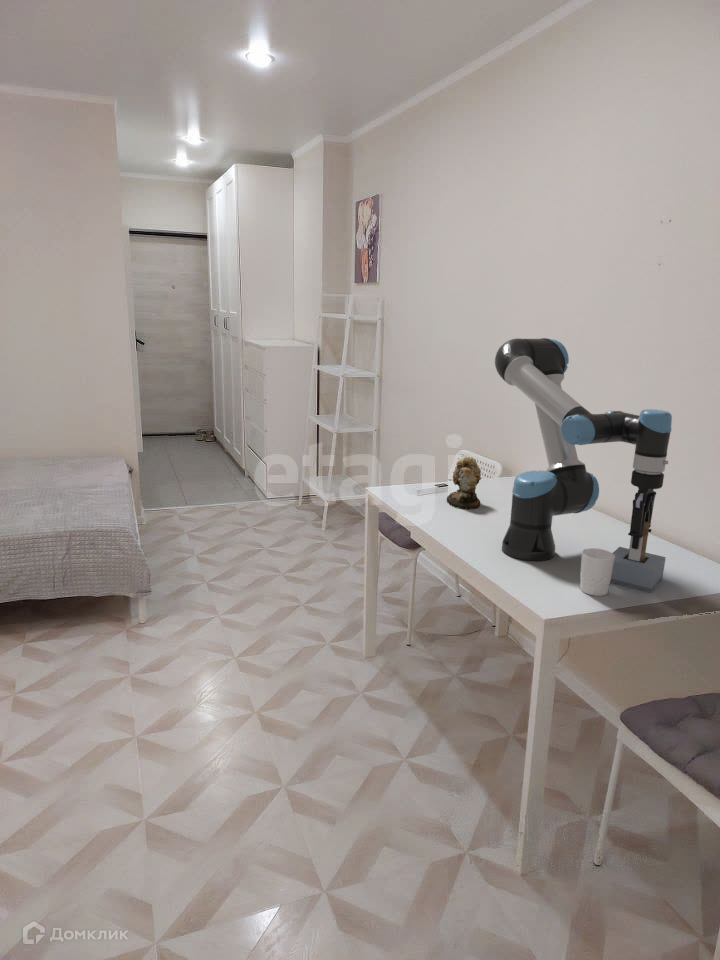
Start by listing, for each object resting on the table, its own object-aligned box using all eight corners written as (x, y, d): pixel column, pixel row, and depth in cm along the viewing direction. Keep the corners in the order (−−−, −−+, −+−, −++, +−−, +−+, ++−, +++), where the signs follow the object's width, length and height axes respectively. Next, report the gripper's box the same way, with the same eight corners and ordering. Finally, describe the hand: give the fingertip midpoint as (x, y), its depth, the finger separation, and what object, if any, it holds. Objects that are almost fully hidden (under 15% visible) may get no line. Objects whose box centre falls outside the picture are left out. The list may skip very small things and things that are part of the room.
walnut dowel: (623, 576, 178) (631, 522, 174) (627, 571, 181) (635, 518, 177) (639, 580, 175) (647, 525, 172) (643, 575, 178) (651, 521, 175)
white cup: (609, 599, 166) (614, 561, 163) (576, 593, 168) (580, 556, 166) (610, 587, 173) (615, 551, 170) (578, 582, 175) (582, 546, 173)
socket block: (603, 580, 177) (606, 558, 176) (616, 567, 187) (619, 546, 185) (651, 592, 170) (654, 570, 169) (662, 578, 180) (665, 557, 178)
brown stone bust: (441, 495, 252) (444, 451, 248) (472, 495, 254) (475, 451, 249) (452, 509, 235) (455, 462, 231) (485, 509, 236) (489, 462, 232)
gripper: (655, 479, 162) (642, 570, 168) (671, 467, 175) (659, 552, 181) (623, 474, 167) (612, 562, 172) (641, 463, 180) (630, 546, 185)
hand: (636, 557), depth 177 cm, fingers closed on walnut dowel, 4 cm apart
